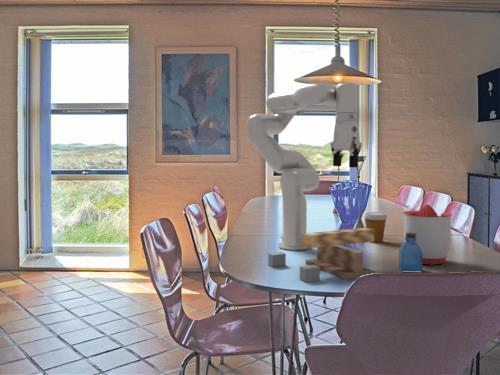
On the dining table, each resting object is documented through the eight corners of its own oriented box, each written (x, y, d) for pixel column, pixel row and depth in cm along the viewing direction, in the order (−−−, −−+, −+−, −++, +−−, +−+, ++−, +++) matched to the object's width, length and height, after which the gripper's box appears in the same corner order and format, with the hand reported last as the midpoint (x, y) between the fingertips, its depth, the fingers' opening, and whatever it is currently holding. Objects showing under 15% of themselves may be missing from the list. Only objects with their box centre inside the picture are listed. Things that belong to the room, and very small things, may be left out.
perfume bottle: (422, 273, 146) (422, 235, 145) (401, 272, 147) (402, 235, 146) (418, 268, 152) (419, 232, 151) (398, 267, 153) (399, 231, 152)
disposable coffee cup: (389, 243, 193) (390, 214, 192) (366, 243, 193) (367, 215, 192) (382, 239, 202) (383, 212, 202) (361, 239, 202) (361, 212, 202)
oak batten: (366, 239, 157) (366, 227, 157) (374, 241, 154) (374, 229, 153) (301, 246, 146) (301, 233, 145) (308, 248, 142) (308, 235, 142)
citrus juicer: (460, 260, 162) (461, 203, 161) (438, 269, 150) (440, 208, 149) (417, 253, 174) (418, 200, 172) (394, 261, 161) (395, 204, 160)
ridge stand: (305, 264, 158) (305, 239, 157) (332, 260, 162) (332, 236, 162) (346, 280, 138) (346, 251, 137) (374, 275, 143) (375, 248, 142)
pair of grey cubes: (268, 265, 156) (268, 253, 156) (281, 263, 159) (281, 252, 158) (305, 282, 136) (305, 268, 136) (319, 280, 138) (319, 266, 138)
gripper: (370, 117, 159) (368, 167, 160) (340, 120, 175) (339, 165, 176) (352, 116, 156) (351, 167, 157) (323, 119, 171) (322, 165, 173)
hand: (345, 166), depth 167 cm, fingers open, 9 cm apart
